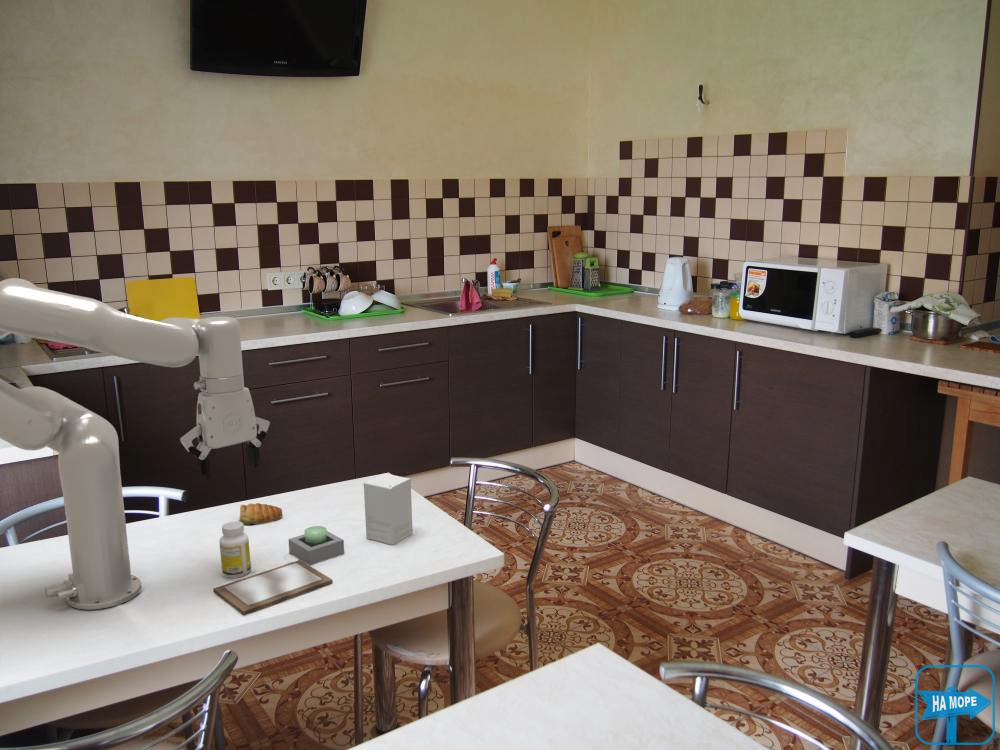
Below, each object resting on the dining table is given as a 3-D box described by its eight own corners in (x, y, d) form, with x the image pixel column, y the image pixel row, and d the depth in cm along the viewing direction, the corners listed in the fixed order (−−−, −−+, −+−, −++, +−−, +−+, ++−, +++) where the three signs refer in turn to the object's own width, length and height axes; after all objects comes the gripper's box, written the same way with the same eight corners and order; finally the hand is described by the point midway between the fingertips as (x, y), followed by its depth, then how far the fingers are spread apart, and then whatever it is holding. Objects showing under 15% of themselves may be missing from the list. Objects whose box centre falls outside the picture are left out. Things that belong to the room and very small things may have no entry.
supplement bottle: (240, 563, 171) (237, 517, 168) (256, 571, 167) (253, 524, 165) (216, 573, 167) (212, 525, 164) (232, 581, 163) (228, 532, 161)
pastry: (282, 512, 198) (281, 496, 197) (283, 523, 192) (282, 507, 191) (239, 516, 195) (238, 500, 195) (239, 528, 189) (237, 511, 188)
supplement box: (413, 534, 185) (412, 478, 182) (391, 546, 179) (389, 488, 176) (387, 526, 189) (385, 472, 186) (364, 538, 183) (362, 482, 180)
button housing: (309, 565, 170) (308, 551, 169) (289, 552, 176) (288, 539, 175) (344, 553, 175) (343, 539, 174) (323, 541, 181) (322, 528, 180)
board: (243, 615, 150) (243, 610, 150) (213, 592, 159) (213, 587, 158) (332, 583, 162) (332, 578, 162) (300, 563, 171) (299, 558, 170)
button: (312, 545, 172) (311, 536, 171) (300, 539, 175) (300, 530, 174) (331, 539, 175) (330, 530, 174) (319, 533, 178) (319, 524, 177)
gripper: (185, 395, 150) (194, 487, 154) (275, 379, 162) (280, 466, 166) (168, 388, 156) (176, 477, 159) (255, 373, 167) (261, 457, 171)
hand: (229, 471), depth 163 cm, fingers open, 9 cm apart
